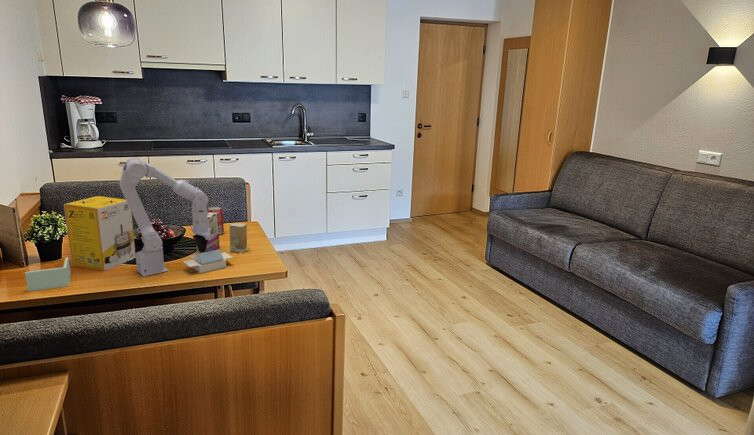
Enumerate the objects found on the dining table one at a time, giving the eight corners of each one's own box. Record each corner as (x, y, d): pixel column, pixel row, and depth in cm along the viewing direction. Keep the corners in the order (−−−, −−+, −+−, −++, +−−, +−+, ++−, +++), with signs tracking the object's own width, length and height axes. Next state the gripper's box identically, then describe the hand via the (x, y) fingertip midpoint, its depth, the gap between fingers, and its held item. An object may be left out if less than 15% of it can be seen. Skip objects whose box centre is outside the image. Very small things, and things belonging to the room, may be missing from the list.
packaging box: (105, 252, 209) (98, 195, 203) (136, 258, 205) (130, 199, 198) (71, 265, 194) (63, 204, 188) (104, 271, 190) (96, 208, 183)
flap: (201, 264, 191) (201, 263, 190) (197, 254, 192) (197, 253, 192) (223, 259, 197) (223, 258, 196) (219, 249, 198) (219, 249, 198)
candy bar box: (209, 247, 221) (207, 212, 217) (219, 248, 220) (218, 212, 216) (196, 255, 211) (193, 218, 206) (206, 256, 210) (204, 219, 205)
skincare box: (229, 251, 216) (228, 225, 213) (234, 248, 221) (233, 222, 217) (243, 253, 215) (242, 226, 212) (247, 250, 219) (246, 223, 216)
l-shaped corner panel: (71, 275, 186) (68, 257, 184) (68, 287, 176) (66, 267, 174) (33, 280, 180) (29, 261, 178) (28, 293, 170) (25, 272, 168)
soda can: (227, 233, 241) (225, 208, 238) (215, 236, 235) (213, 210, 232) (217, 230, 245) (215, 205, 241) (205, 234, 239) (203, 208, 236)
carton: (191, 275, 189) (190, 262, 187) (178, 266, 198) (177, 253, 196) (234, 265, 200) (233, 252, 199) (220, 257, 209) (219, 244, 208)
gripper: (217, 222, 194) (219, 254, 198) (202, 214, 204) (204, 245, 208) (200, 225, 189) (202, 258, 193) (185, 217, 200) (187, 248, 203)
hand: (202, 251), depth 200 cm, fingers closed
